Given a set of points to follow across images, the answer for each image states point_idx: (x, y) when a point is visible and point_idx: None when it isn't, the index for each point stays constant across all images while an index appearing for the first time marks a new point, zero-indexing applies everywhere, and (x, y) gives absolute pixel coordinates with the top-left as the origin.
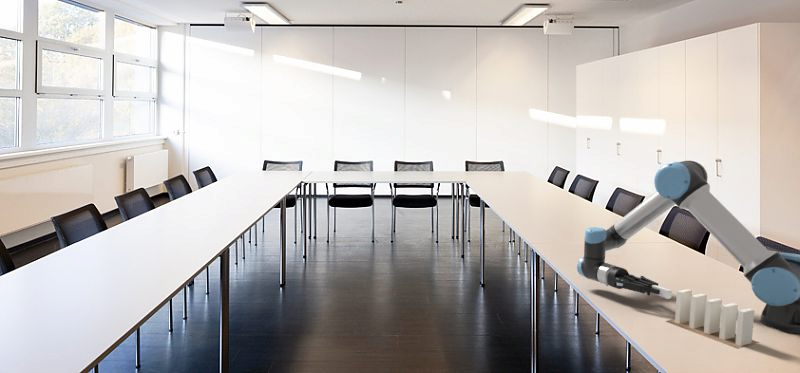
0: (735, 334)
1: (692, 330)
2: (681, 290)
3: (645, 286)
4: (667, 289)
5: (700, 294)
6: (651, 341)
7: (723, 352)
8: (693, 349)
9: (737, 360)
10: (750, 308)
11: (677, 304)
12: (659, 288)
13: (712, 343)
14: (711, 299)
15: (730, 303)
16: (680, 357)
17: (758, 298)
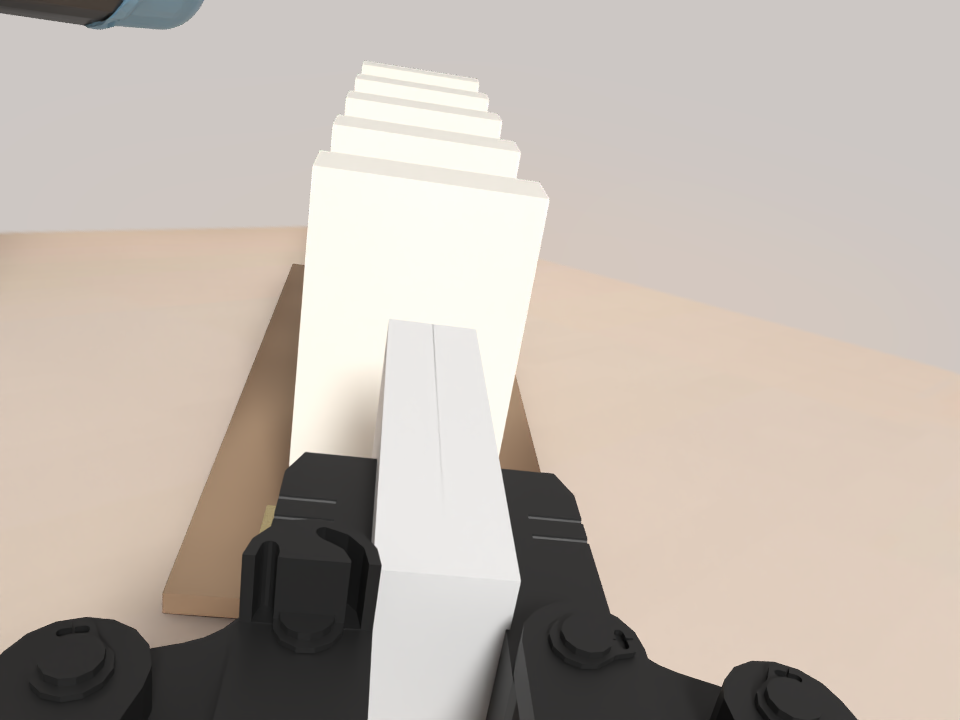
0: (283, 318)
1: (511, 434)
2: (462, 184)
3: (735, 677)
4: (419, 351)
5: (383, 128)
6: (955, 514)
7: (575, 323)
8: (717, 381)
9: (586, 292)
10: (363, 63)
11: (513, 365)
12: (492, 441)
13: (528, 364)
14: (432, 109)
15: (384, 82)
16: (859, 381)
17: (192, 1)
